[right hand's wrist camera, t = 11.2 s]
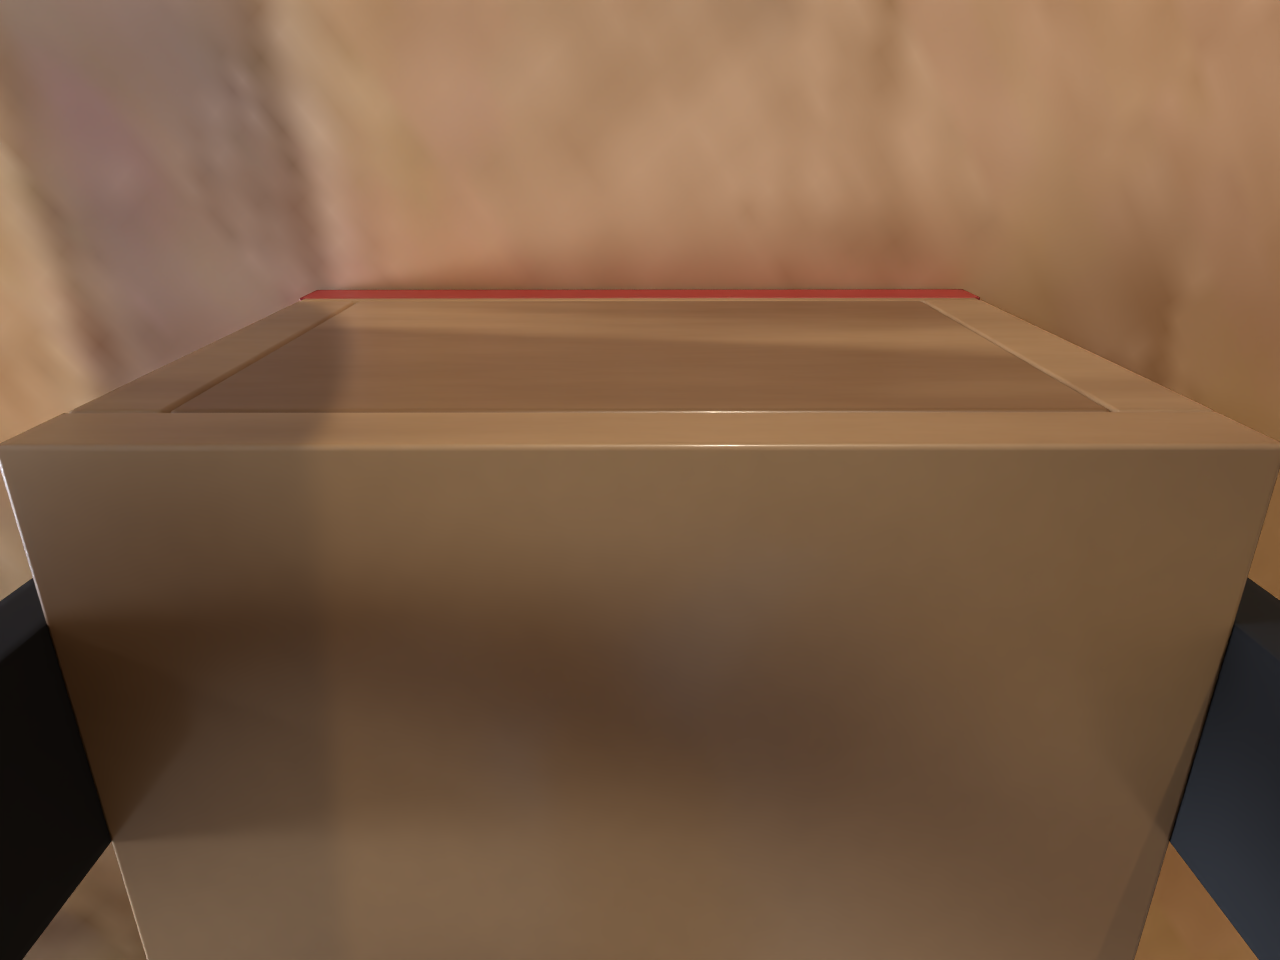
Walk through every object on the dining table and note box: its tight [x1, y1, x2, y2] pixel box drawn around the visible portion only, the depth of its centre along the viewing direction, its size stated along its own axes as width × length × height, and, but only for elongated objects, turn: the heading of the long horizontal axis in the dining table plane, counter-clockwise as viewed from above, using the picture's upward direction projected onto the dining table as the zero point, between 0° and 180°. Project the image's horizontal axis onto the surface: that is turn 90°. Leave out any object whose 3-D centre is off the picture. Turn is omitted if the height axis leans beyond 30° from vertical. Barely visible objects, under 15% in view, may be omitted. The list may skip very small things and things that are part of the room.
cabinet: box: [0, 289, 1280, 960], centre depth 15 cm, size 21×11×8 cm, turn 0°
